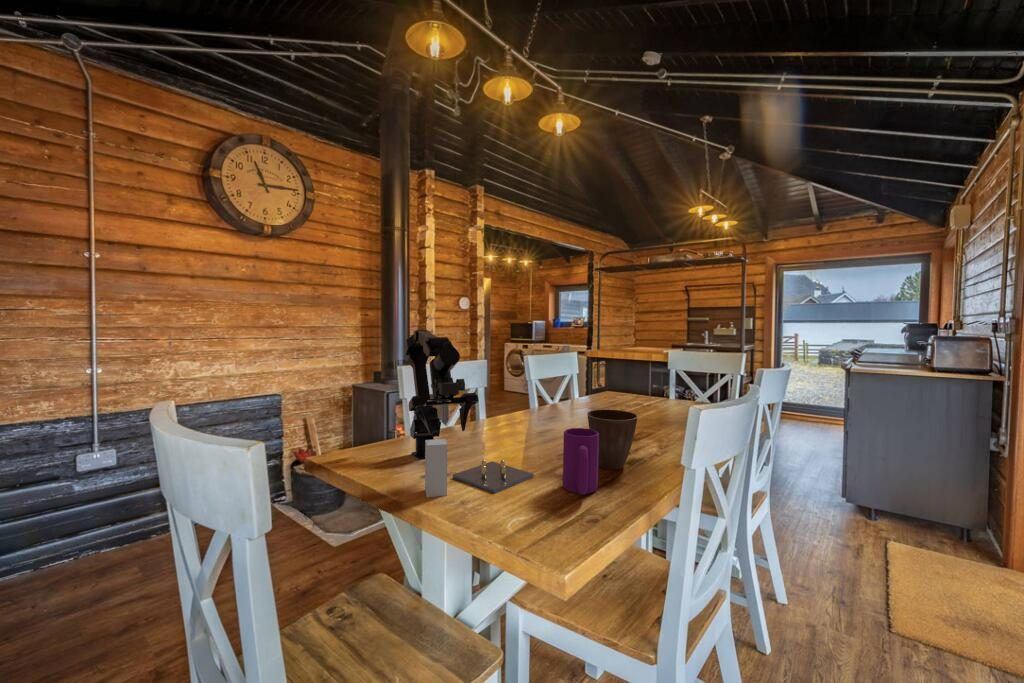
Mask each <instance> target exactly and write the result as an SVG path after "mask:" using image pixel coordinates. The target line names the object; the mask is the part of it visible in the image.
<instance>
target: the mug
mask: <svg viewBox="0 0 1024 683" xmlns="http://www.w3.org/2000/svg"><path fill="white" fill-rule="evenodd" d="M562 450H563V453H562V456H563V457H562V487H563V488H564V489H565V490H566V491H568V492H570V493H573V494H579V495H587V494H592V493H593V492H597V489H598V485H599V464H598V455H599V433H598V432H597V431H595V430H591V429H589V428H583V427H573V428H568V429H565V430H564V431H563V448H562Z"/></svg>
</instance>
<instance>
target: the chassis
mask: <svg viewBox="0 0 1024 683" xmlns="http://www.w3.org/2000/svg"><path fill="white" fill-rule="evenodd" d="M532 478H534V473H532V472H529V471H526V470H523V469H519V468H516V467H513V466H509V465H506V461H505V460H504V459H501V460H500V462H496V461H493V460H492V461H489V462H487V461H486V459H482V460H481V464H480V465H477V466H474V467H471V468H469V469H465V470H463V471H459V472H457V473H454V474H452V479H453V480H456V481H460V482H462V483H464V484H468V485H470V486H472V487H475V488H478V489H482V490H484V491H487V492H490V493H492V494H497V493H499V492H501V491H504V490H506V489H508V488H511V487H514V486H516V485H518V484H521V483H523V482H525V481H528V480H530V479H532Z"/></svg>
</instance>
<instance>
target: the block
mask: <svg viewBox="0 0 1024 683" xmlns="http://www.w3.org/2000/svg"><path fill="white" fill-rule="evenodd" d="M424 463H425V464H424V491H425V495H426V498H434V497H444V496H448V442H447V440H446V439H445V438H438V439H435V438H434V440H425V458H424Z"/></svg>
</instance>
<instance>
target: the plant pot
mask: <svg viewBox="0 0 1024 683" xmlns="http://www.w3.org/2000/svg"><path fill="white" fill-rule="evenodd" d="M586 414H587V421H588V427H589V428H588V429H591V430H595V431H597V432H598V433H599V455H598V467H600V468H602V469H604V470H611V471H615V470H616V471H617V470H622V469H623V468H624V466H625V464H626V462H627V460H628V457H629V454H630V451H631V449H632V444H633V442H634V437H635V433H636V428H637V422H638V417H639V416H638V414H636V413H633V412H630V411H626V410H620V409H619V410H618V409H594V410H590V411H587V413H586Z"/></svg>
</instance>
